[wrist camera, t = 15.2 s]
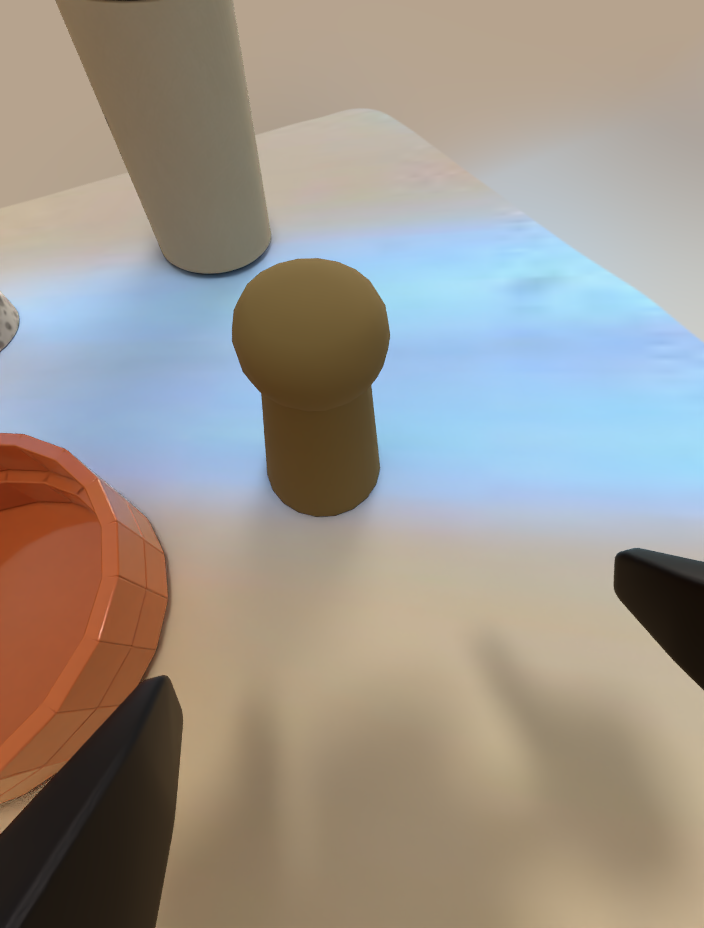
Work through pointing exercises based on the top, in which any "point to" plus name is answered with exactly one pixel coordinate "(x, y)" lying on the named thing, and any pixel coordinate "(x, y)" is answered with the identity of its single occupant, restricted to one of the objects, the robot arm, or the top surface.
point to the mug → (7, 321)
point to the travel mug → (179, 122)
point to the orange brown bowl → (68, 607)
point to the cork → (315, 379)
